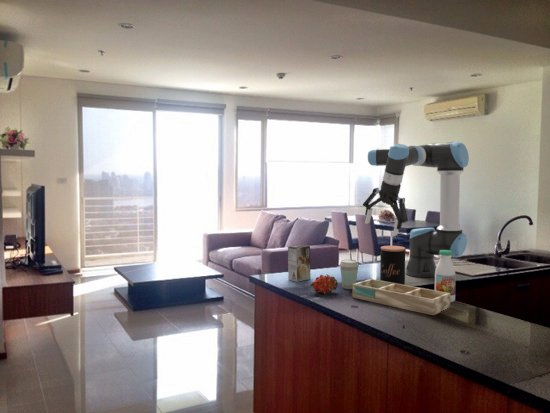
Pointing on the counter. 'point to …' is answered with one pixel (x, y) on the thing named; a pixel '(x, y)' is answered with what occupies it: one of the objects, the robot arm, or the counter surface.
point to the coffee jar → (392, 264)
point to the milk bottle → (445, 274)
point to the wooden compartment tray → (402, 296)
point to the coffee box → (299, 263)
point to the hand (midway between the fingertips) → (380, 229)
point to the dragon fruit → (324, 284)
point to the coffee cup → (349, 273)
